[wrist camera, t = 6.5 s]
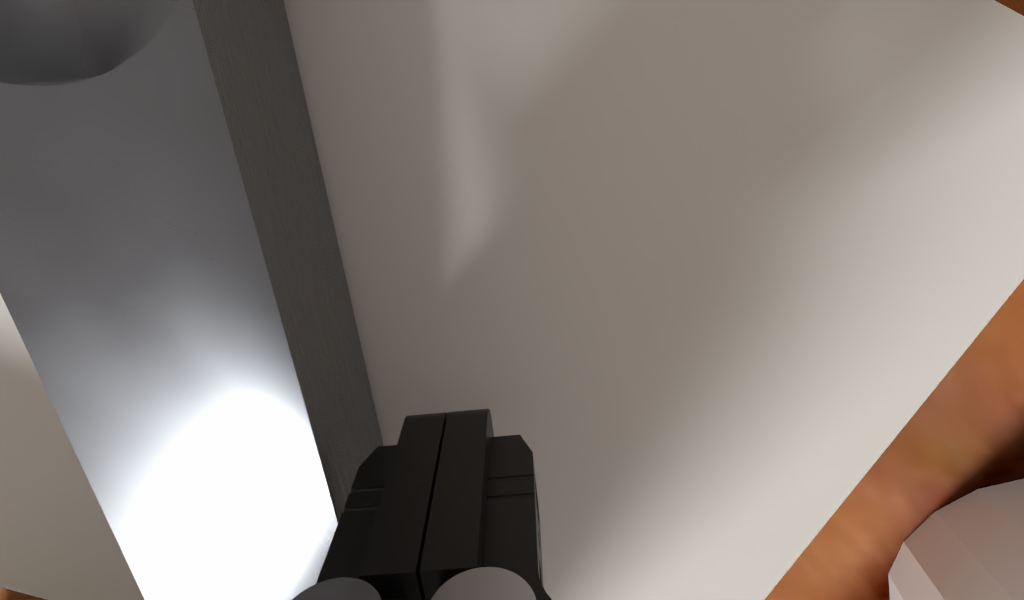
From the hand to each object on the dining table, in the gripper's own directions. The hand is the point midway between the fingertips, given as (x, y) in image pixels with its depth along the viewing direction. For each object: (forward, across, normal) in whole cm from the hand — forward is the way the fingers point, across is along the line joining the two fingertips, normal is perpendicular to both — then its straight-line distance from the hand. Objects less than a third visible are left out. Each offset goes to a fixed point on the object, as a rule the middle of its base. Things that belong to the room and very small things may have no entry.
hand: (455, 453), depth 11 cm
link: (+1, +3, -2) cm, 4 cm away
